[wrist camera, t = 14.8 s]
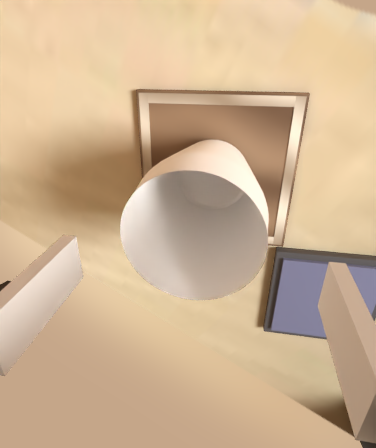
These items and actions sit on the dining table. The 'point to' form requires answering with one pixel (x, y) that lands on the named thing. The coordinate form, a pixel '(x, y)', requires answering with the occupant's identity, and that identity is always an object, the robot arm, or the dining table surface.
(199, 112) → the marked board
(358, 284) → the ink pad
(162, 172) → the cup
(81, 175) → the dining table surface
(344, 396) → the robot arm
